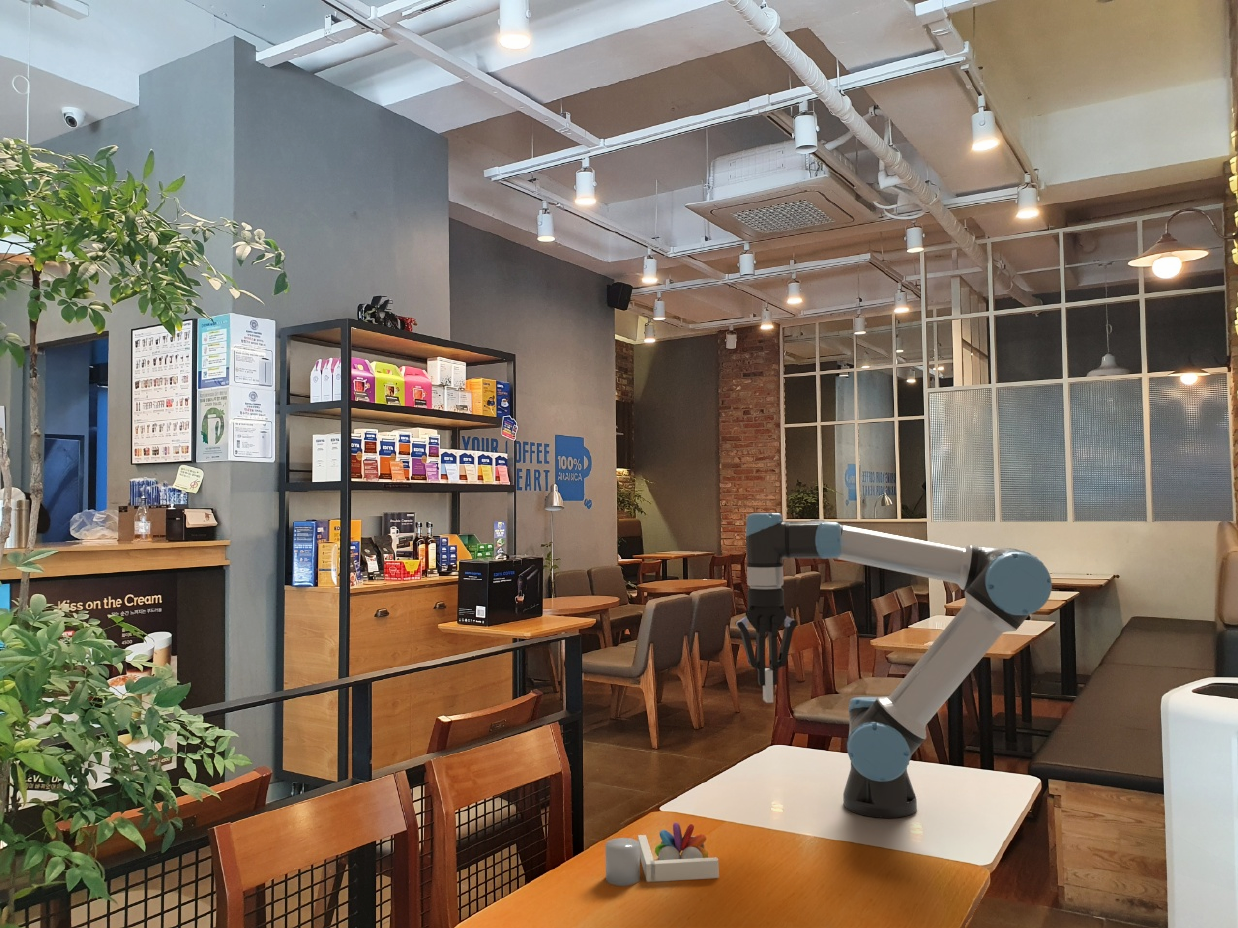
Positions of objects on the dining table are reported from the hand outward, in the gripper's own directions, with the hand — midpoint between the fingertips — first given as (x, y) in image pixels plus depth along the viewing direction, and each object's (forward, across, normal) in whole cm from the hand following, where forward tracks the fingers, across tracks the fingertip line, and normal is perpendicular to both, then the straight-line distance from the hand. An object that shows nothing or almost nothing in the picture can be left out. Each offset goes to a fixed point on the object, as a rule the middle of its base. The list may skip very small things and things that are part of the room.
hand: (768, 700), depth 190 cm
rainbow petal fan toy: (+25, +22, +19) cm, 38 cm away
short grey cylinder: (+25, +33, +25) cm, 48 cm away
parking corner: (+24, +22, +20) cm, 38 cm away
